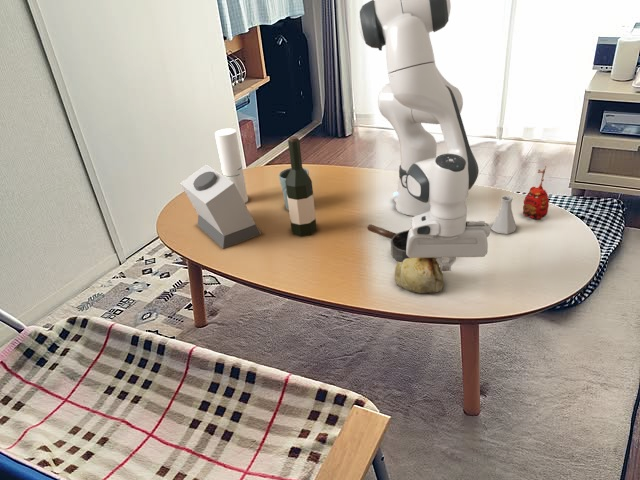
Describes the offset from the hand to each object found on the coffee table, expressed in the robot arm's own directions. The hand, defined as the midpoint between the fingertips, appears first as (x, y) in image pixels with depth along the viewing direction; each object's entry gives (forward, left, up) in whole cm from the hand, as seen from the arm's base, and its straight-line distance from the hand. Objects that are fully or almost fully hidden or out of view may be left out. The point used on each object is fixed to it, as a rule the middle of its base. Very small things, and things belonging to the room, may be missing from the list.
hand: (445, 270), depth 146 cm
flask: (-35, -4, -4) cm, 35 cm away
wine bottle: (+2, -53, -4) cm, 53 cm away
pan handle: (-7, -27, -2) cm, 28 cm away
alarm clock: (+18, -74, -4) cm, 76 cm away
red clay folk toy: (-48, -1, -4) cm, 48 cm away
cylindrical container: (+1, -89, -4) cm, 89 cm away
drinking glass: (-9, -68, -4) cm, 68 cm away
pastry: (+3, -6, -4) cm, 8 cm away
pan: (-7, -16, -4) cm, 18 cm away
